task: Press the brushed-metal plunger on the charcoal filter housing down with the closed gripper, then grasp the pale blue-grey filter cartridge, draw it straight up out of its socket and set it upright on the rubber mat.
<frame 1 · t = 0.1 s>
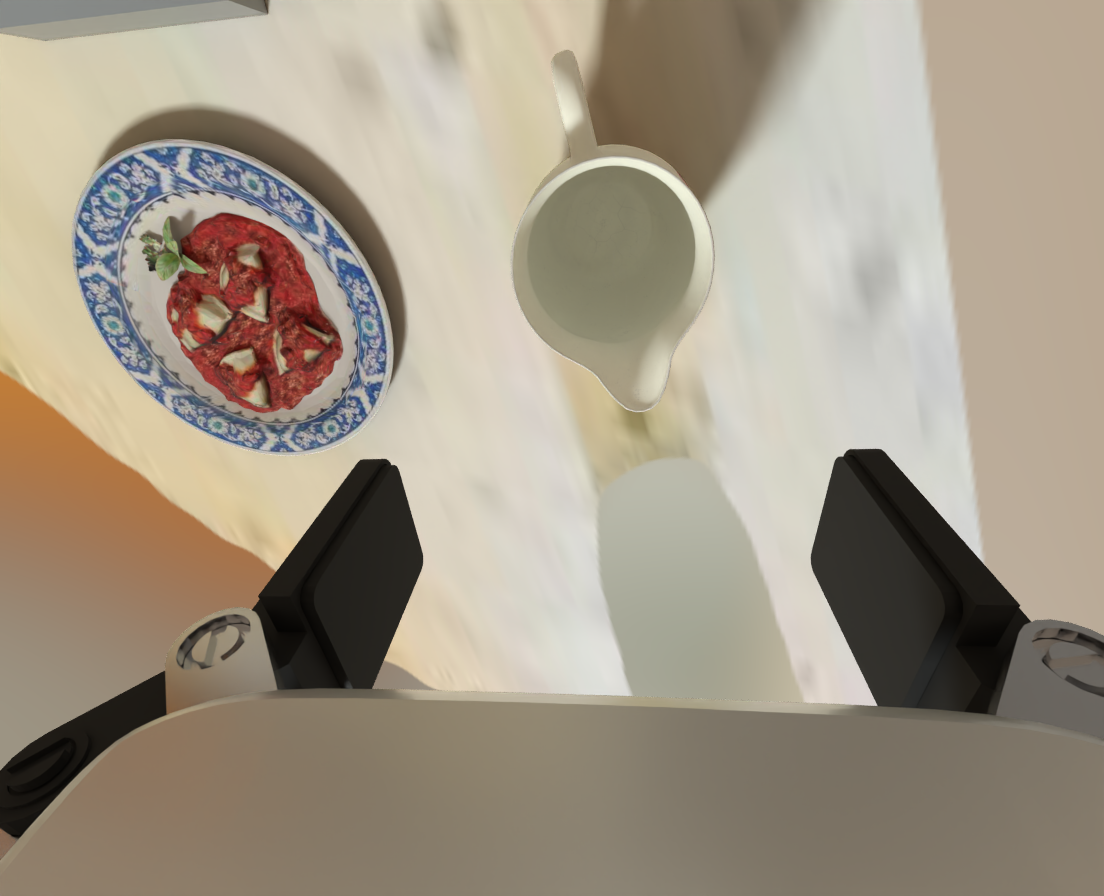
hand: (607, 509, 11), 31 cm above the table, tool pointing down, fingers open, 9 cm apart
pitcher: (604, 215, 37), on the table
ceramic plate: (254, 314, 43), on the table
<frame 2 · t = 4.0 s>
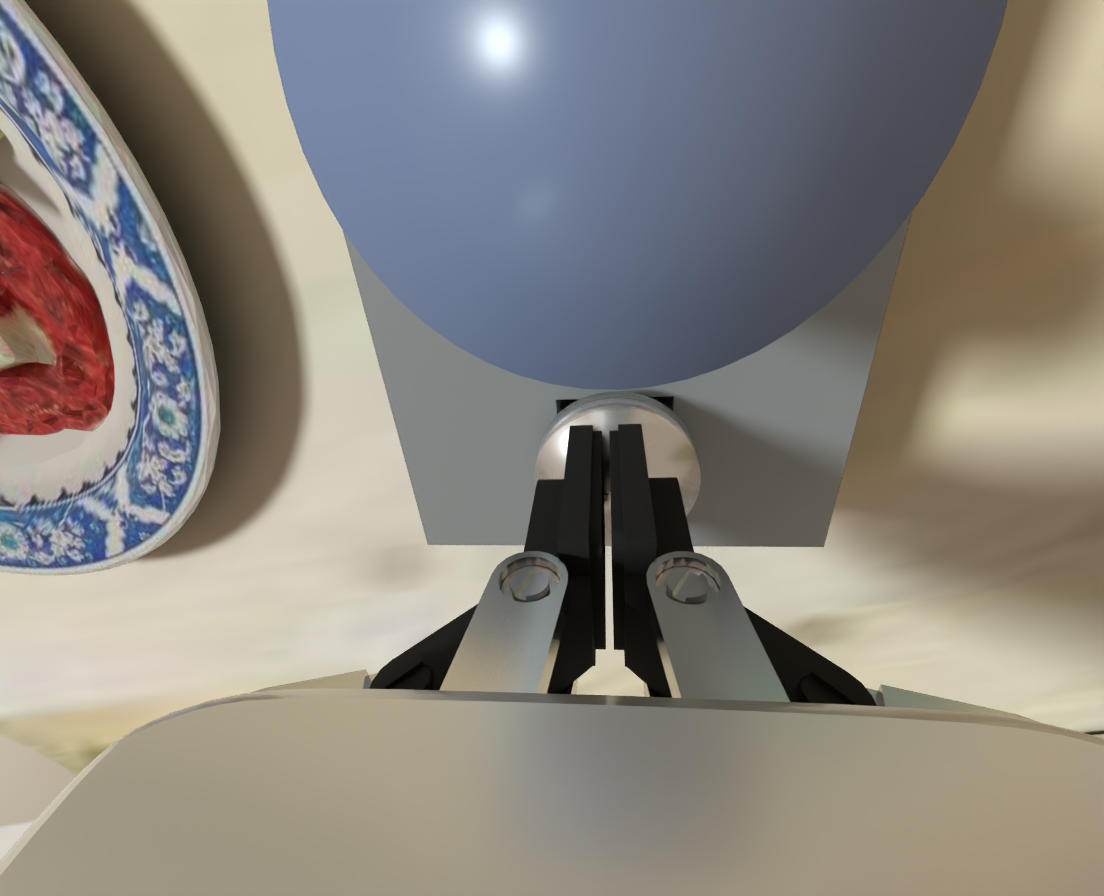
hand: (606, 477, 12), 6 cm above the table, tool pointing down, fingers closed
cartridge: (609, 123, 13), resting in housing
plunger: (614, 437, 14), point 3 cm above the table, slide at 1.3 cm, touching gripper
housing: (611, 245, 15), on the table
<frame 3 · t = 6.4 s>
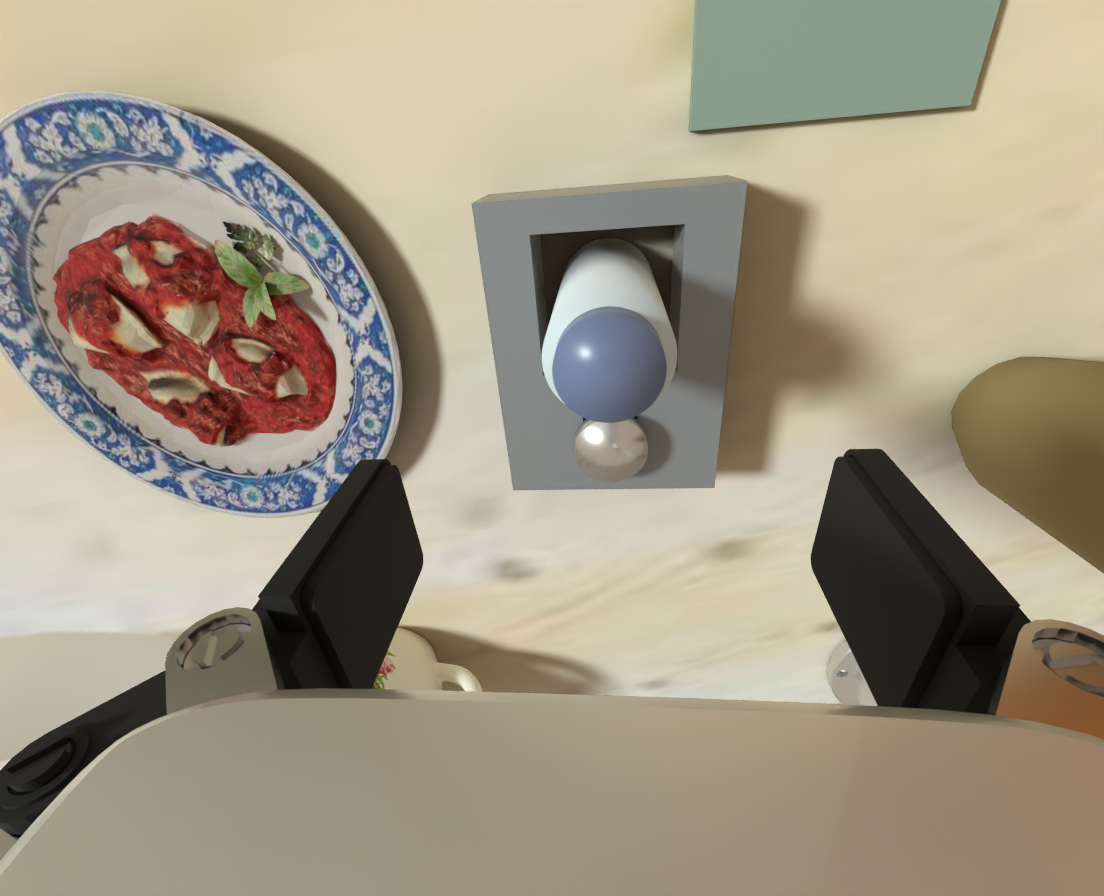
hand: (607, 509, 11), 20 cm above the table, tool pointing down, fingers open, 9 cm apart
cartridge: (607, 285, 28), resting in housing
squeeze bottle: (1003, 400, 30), on the table
plunger: (610, 431, 29), point 3 cm above the table, slide at 1.6 cm
pitcher: (409, 647, 47), on the table
housing: (608, 338, 30), on the table
ceramic plate: (216, 338, 32), on the table
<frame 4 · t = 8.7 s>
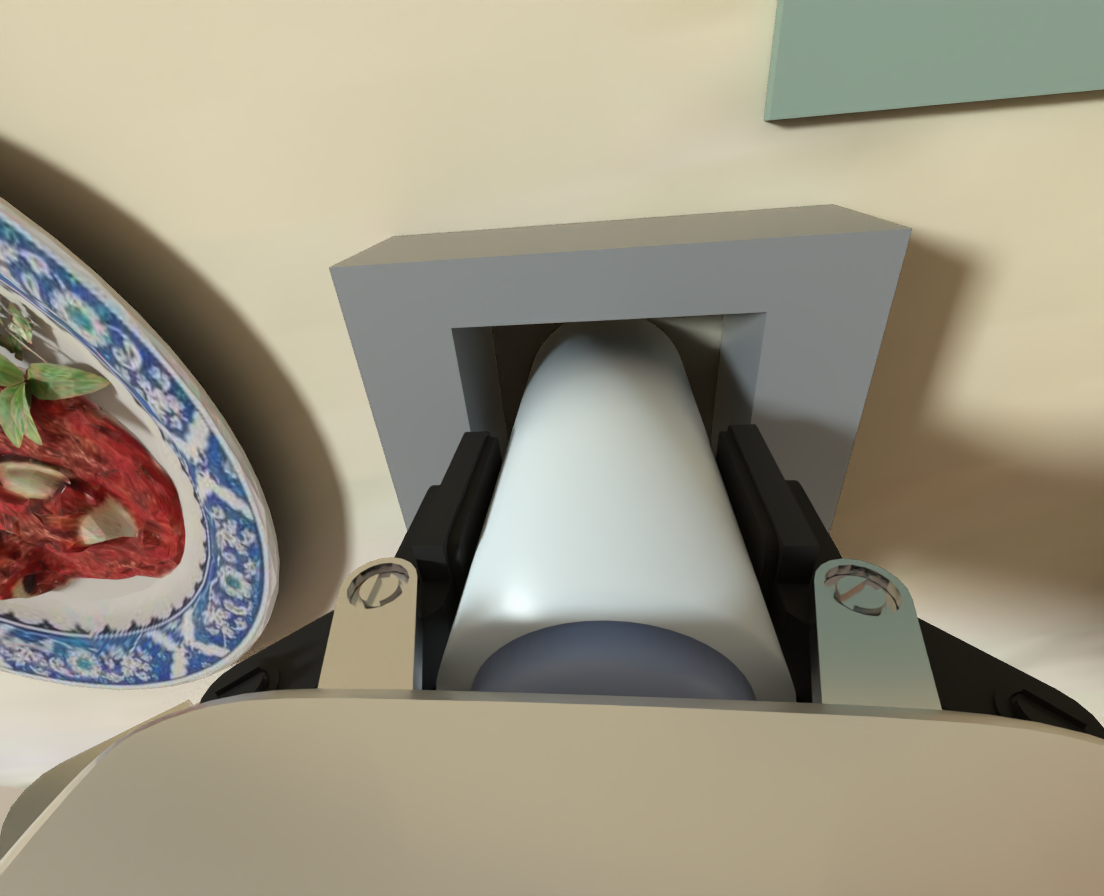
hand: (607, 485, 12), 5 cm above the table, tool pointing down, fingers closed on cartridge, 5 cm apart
cartridge: (606, 386, 16), resting in housing, touching gripper
housing: (608, 464, 18), on the table
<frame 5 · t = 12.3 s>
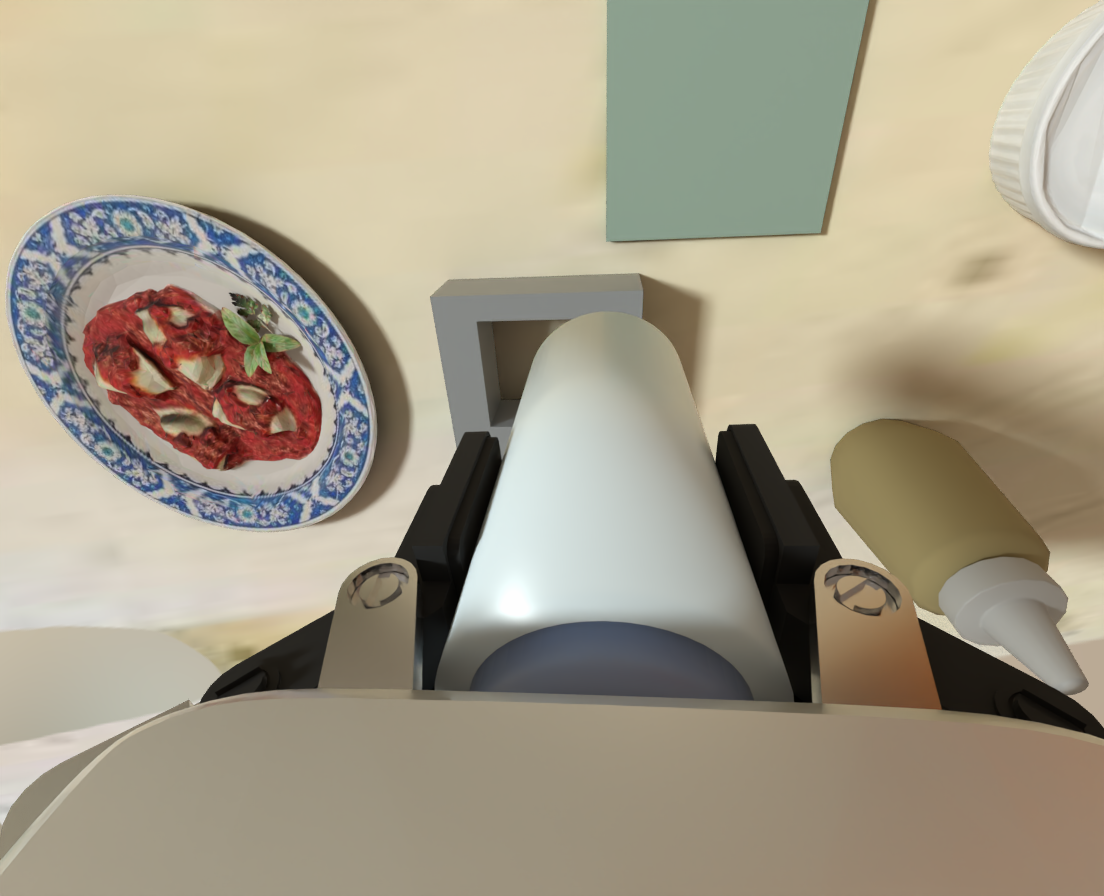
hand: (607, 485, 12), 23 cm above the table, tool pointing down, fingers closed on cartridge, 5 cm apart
cartridge: (605, 387, 16), point 17 cm above the table, touching gripper
mat: (722, 112, 26), on the table
ramekin: (1087, 113, 25), on the table
squeeze bottle: (872, 452, 36), on the table
housing: (548, 393, 36), on the table
ceramic plate: (219, 381, 38), on the table
when the fingers open (7 cm above the table, at t = 16.2 s): cartridge drops 1 cm, resting on mat.
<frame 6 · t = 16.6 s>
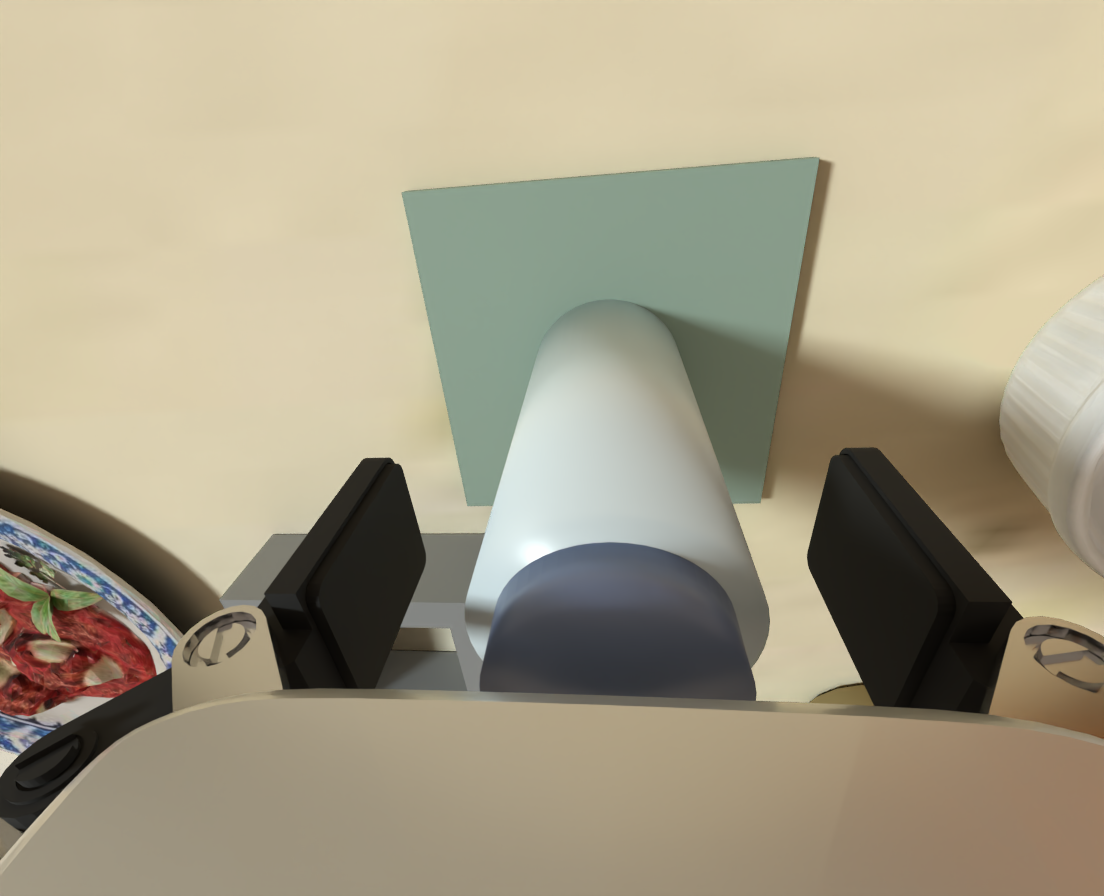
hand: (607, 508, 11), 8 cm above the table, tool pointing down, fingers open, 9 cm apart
cartridge: (606, 370, 18), point 1 cm above the table, touching mat
mat: (605, 363, 18), on the table
squeeze bottle: (852, 710, 28), on the table
housing: (428, 645, 28), on the table
ceramic plate: (26, 618, 30), on the table
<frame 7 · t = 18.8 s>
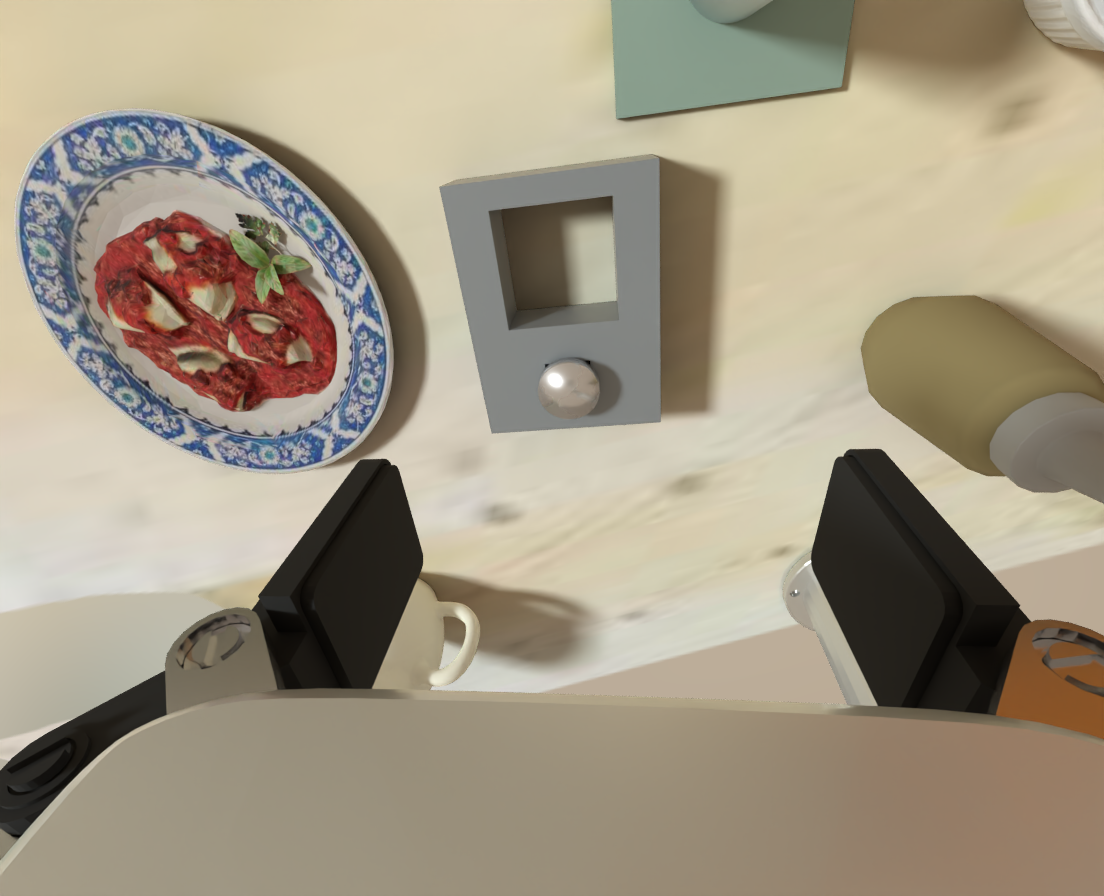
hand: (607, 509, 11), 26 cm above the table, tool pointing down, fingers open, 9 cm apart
squeeze bottle: (904, 337, 35), on the table
plunger: (570, 377, 35), point 3 cm above the table, slide at 1.6 cm
pitcher: (413, 592, 53), on the table
housing: (565, 298, 35), on the table
ceramic plate: (232, 316, 38), on the table
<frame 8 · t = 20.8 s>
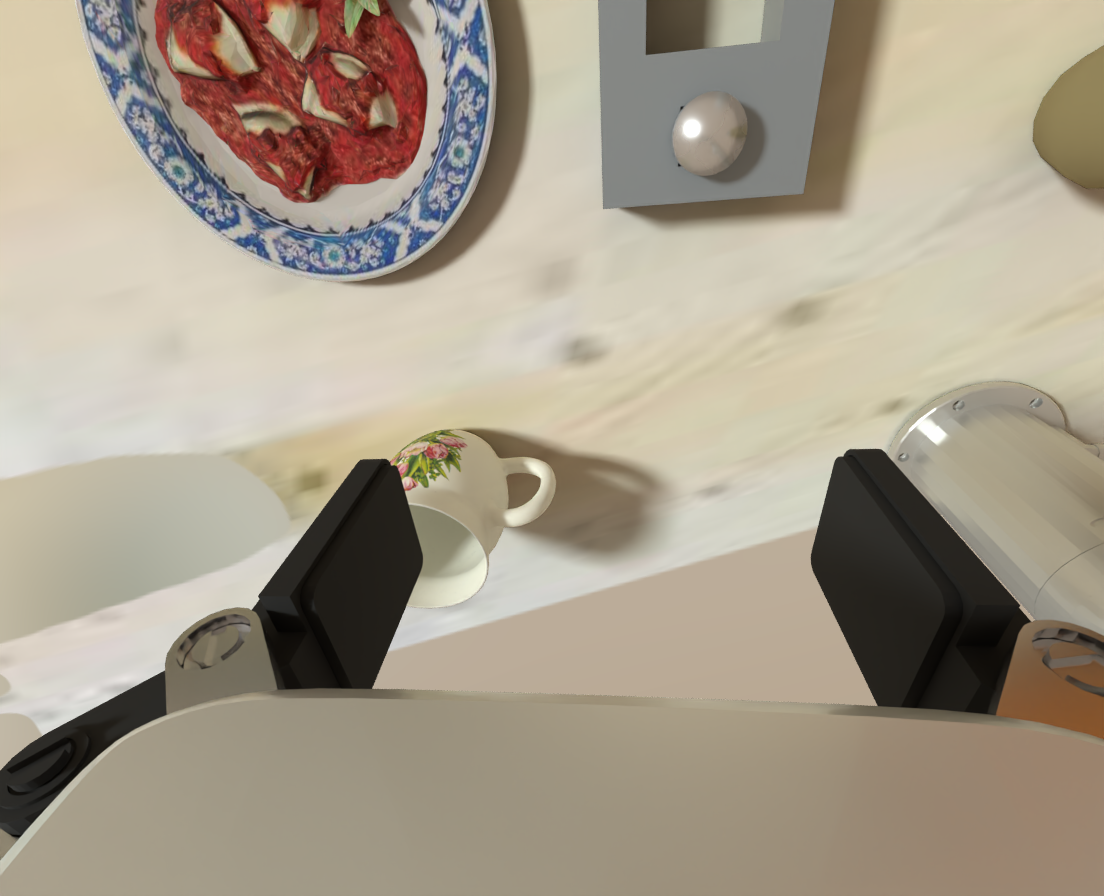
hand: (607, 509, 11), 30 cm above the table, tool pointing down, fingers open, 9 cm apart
squeeze bottle: (1084, 109, 31), on the table
plunger: (703, 134, 30), point 3 cm above the table, slide at 1.6 cm
pitcher: (470, 457, 48), on the table
housing: (700, 46, 30), on the table
ceramic plate: (308, 71, 33), on the table
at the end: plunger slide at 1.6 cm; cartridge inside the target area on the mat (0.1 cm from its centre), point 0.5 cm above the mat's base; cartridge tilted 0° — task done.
